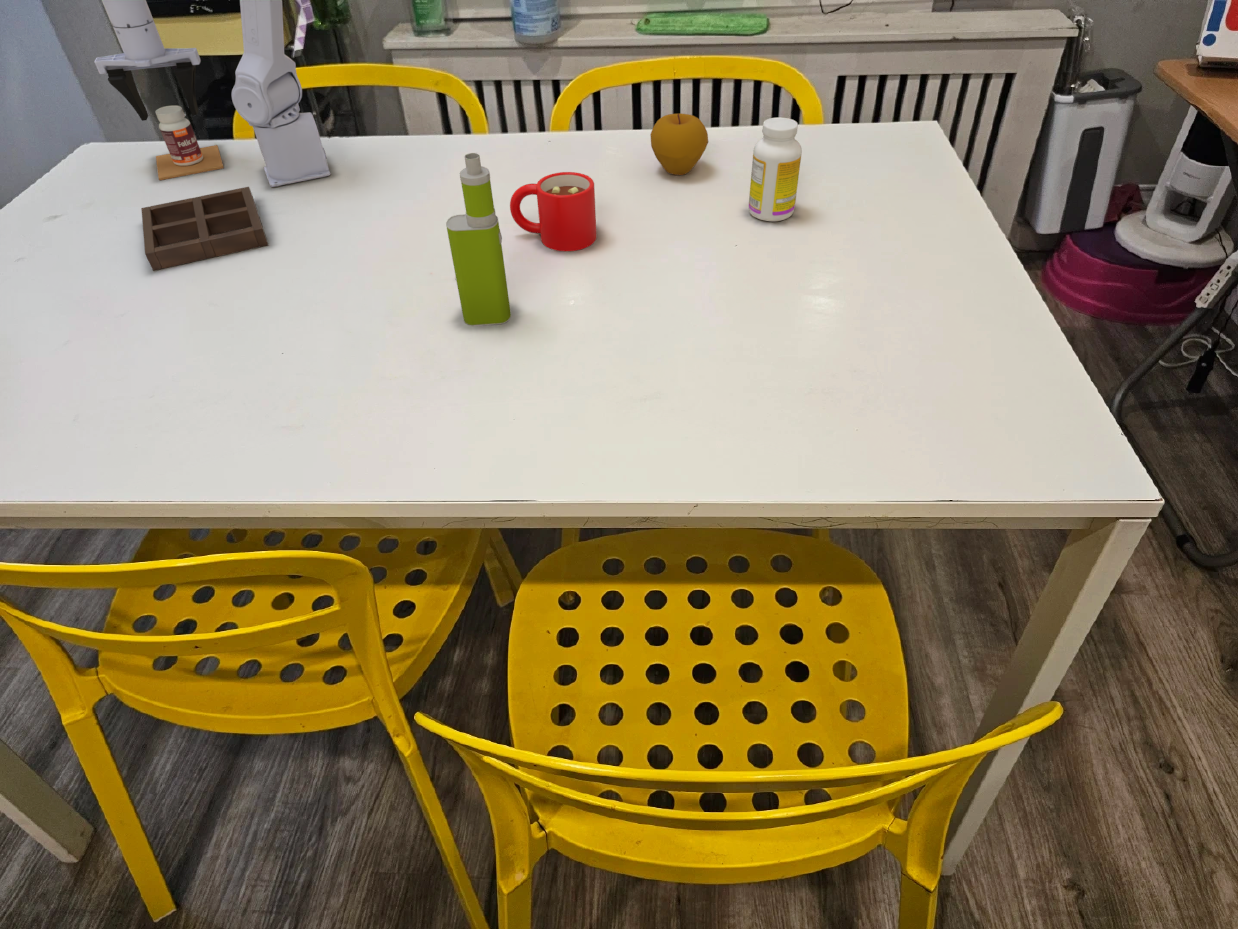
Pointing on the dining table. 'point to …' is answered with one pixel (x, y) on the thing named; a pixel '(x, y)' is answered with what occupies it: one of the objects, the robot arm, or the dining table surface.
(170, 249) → the rack
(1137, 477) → the dining table surface
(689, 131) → the apple
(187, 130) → the pill bottle
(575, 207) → the mug
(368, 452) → the dining table surface
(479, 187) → the vape
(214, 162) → the cork mat
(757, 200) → the supplement bottle
